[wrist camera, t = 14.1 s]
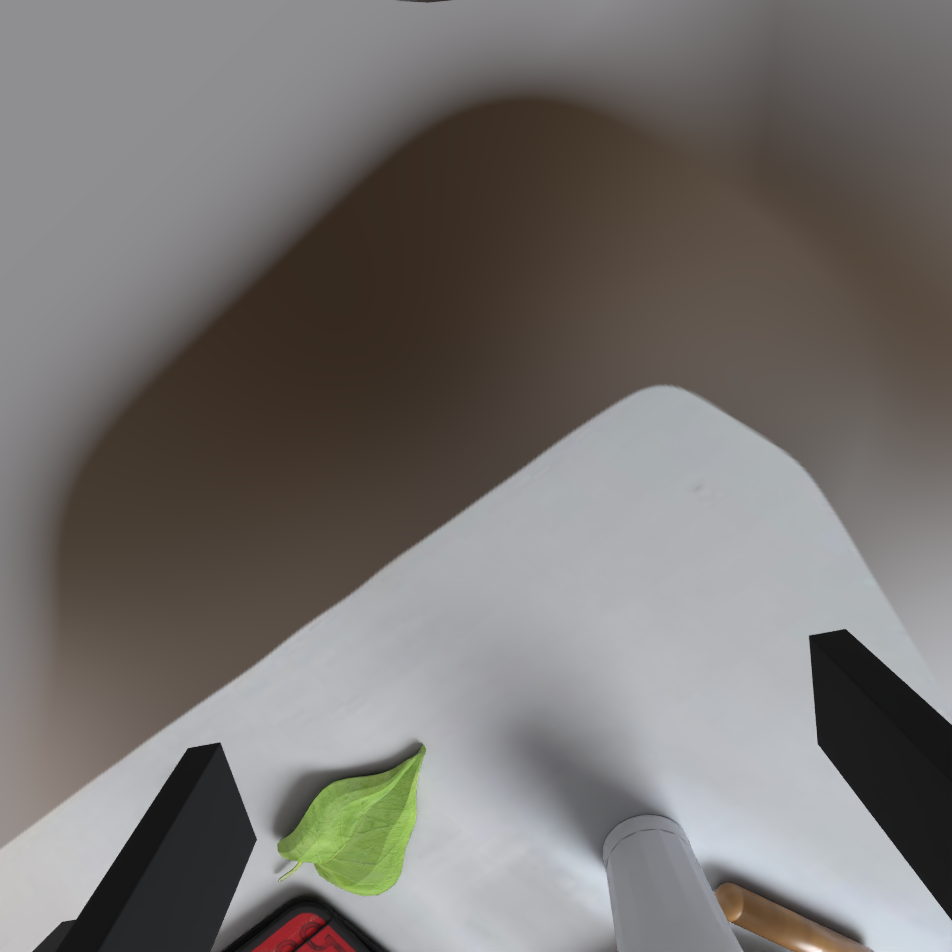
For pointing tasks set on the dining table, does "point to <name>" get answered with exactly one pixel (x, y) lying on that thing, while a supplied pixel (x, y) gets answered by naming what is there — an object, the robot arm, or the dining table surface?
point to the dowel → (780, 923)
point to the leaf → (358, 829)
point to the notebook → (303, 931)
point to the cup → (661, 891)
